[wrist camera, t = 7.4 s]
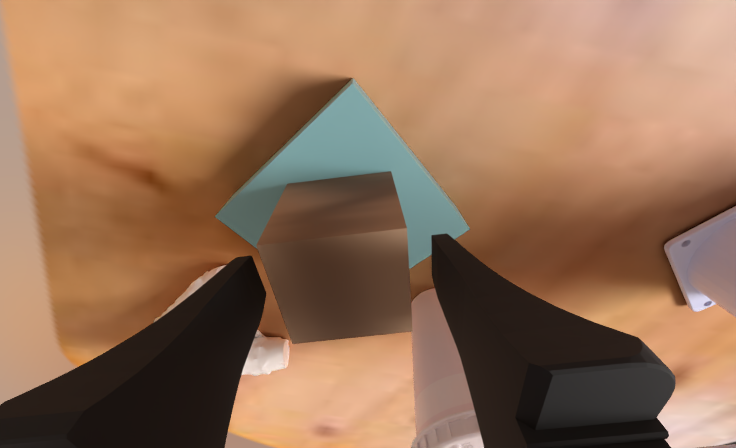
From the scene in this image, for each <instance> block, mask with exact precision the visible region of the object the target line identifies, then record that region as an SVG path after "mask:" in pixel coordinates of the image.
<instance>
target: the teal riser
mask: <svg viewBox="0 0 736 448" xmlns="http://www.w3.org/2000/svg"><path fill="white" fill-rule="evenodd" d="M389 171H391V173H392V176H393V180H394V183H395V187H396V191H397V194H398V198H399V201H400V205H401V209H402V212H403V216H404V219H405V223H406V226H407V238H408V256H409V269H410V268H412V267H413V266H415V265H416V264H418V263H419V262H421V261H423V260H424V259H426V258H427V257H429V256H430V255H432V240H431V235H437V234H446V233H447V234H448V235H450V236H451V237H452V238H453V239H456V238H457V237H459V236H460V235H462V234H464V233H465V232H467V231H468V230H470V228H469V226H468V225H467V223H466V221H465V220H464V218H463V217H462V215H461V213H460V212H459V210H458V209H457V207H456V206H455V205H454V203H453V202H452V201H451V200H450V198H449V197H448V196H447V195H446V193H445V192H444V191H443V190H442V188H441V187H440V186H439V185H438V183H437V182H436V181H435V180H434V178H433V177H432V176H431V175H430V173H429V172H428V171H427V170H426V168H425V167H424V166H423V165H422V163H421V162H420V161H419V160H418V158H417V157H416V156H415V155H414V153H413V152H412V151H411V150H410V148H409V147H408V146H407V145H406V143H405V142H404V141H403V140H402V138H401V137H400V136H399V135H398V133H397V132H396V131H395V130H394V128H393V127H392V126H391V125H390V123H389V122H388V121H387V120H386V118H385V117H384V116H383V115H382V113H381V112H380V111H379V110H378V108H377V107H376V106H375V105H374V103H373V102H372V101H371V100H370V98H369V97H368V96H367V95H366V93H365V92H364V91H363V90H362V88H361V87H360V86H359V85H358V83H357V82H356V81H355V80H354V78H352V79H351V80H350V81H349V82H348V83H347V84H346V85H345V86H344V87H343V88H342V89H341V90H340V91H339V92H338V93H337V94H336V95H335V96H334V97H333V98H332V99H331V100H330V101H329V102H328V103H327V104H326V105H325V106H324V107H323V108H322V109H320V110H319V111H318V112H317V113H316V114H315V115H314V116H313V117H312V118H311V119H310V120H309V121H308V122H307V123H306V124H305V125H304V126H303V127H302V128H301V129H300V130H299V131H298V132H297V133H296V134H295V135H294V136H293V137H292V138H291V139H290V140H289V141H288V142H287V143H286V144H285V145H284V146H283V147H282V148H280V149H279V150H278V151H277V152H276V153H275V154H274V155H273V156H272V157H271V158H270V159H269V160H268V161H267V162H266V163H265V164H264V165H263V166H262V167H261V168H260V169H259V170H258V171H257V172H256V173H255V174H254V175H253V176H252V177H251V178H250V179H249V180H248V181H247V182H246V183H245V184H244V185H243V186H242V187H241V188H239V189H238V190H237V191H236V192H235V193H234V194H233V195H232V197H231V198H230V199H229V200H228V201H227V203H226V204H225V205H224V206H223V207H222V209H221V210H220V211H219V212H218V213H217V215H216V216H215V217H216V218H217V219H218V220H220V221H221V222H222V223H224V224H225V225H226V226H228V227H229V228H230V229H232V230H233V231H234V232H236V233H237V234H238V235H239V236H241V237H242V238H243V239H245V240H246V241H247V242H249V243H250V244H251V245H253V246H254V247H255V248H257V246H256V245H257V243H258V241H259V239H260V237H261V235H262V233H263V231H264V229H265V227H266V225H267V223H268V221H269V219H270V217H271V215H272V213H273V211H274V209H275V207H276V205H277V203H278V201H279V199H280V197H281V195H282V193H283V191H284V189H285V187H286V185H287V184H289V183H297V182H305V181H314V180H322V179H330V178H339V177H347V176H355V175H364V174H372V173H380V172H389Z"/></svg>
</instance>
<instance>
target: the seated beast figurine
mask: <svg viewBox="0 0 736 448" xmlns="http://www.w3.org/2000/svg"><path fill="white" fill-rule="evenodd" d="M225 266H226V265H223V266H220V267H217V268H214V269H212V270H210V271H209V272H208V271H206V272H205V273H204V275H203V276H200V277H199V278H198V279H197V280H195V281H193V282H192V283H191V284H190V286H189V288H187V289H186V291H185V292H184V293H182V295H181V296H180V297H179V298H178V299H176V300H175V303H174V304H172V305H171V306H169V307H168V308H167V311H165V312H163V313H162V315H161V316H160V317H156V318H155V320H154V322H155V321H157V320H158V319H160V318H161V317H162V316H164V315H165V314H167V313H168V312H169V311H171V310H172V309H173V308H175V307H176V306H177V305H178V304H180V303H181V302H182V301H184V300H185V299H186V298H187V297H189V296H190V295H191V294H192V293H194V292H195V291H196V290H197V289H199V288H200V287H201V286H202V285H203V284H205V283H206V282H207V281H208V280H209V279H211V278H212V277H213V276H214V275H215V274H216V273H218V272H219V271H220V270H221V269H222V268H224V267H225ZM154 322H153V323H154ZM288 341H289V340H287V339H282V338H281V337H265V336H264V335H263V334H262V333H261V332H260V331H259V330H258V329H257V332H256V335H255V337H254V340H253V343H252V346H251V348H250V351H249V354H248V357H247V359H246V362H245V365H244V368H243V371H242V374H241V375H244V374H250V375H253V376H257V375H260V374H270V373H271V371H276V370H280V369H284V368H287V365H288V361H289V345H288Z"/></svg>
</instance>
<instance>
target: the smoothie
mask: <svg viewBox="0 0 736 448" xmlns="http://www.w3.org/2000/svg"><path fill="white" fill-rule="evenodd" d="M411 309H412V327H413V331H412V332H411V336H412V357H413V379H414V401H415V406H414V407H415V423H416V437H415V439H414V440H413V442H412V446H411V448H484V445H483V441H482V437H481V433H480V429H479V425H478V421H477V417H476V413H475V410H474V406H473V402H472V398H471V395H470V391H469V387H468V383H467V380H466V376H465V373H464V369H463V365H462V362H461V358H460V355H459V352H458V350H457V347H456V344H455V342H454V339H453V336H452V334H451V331H450V329H449V326H448V324H447V321H446V319H445V316H444V313H443V311H442V308H441V306H440V303H439V300H438V298H437V294H436V290H435V288H432V289H429V290H426V291H424V292H422V293H420V294H419V295H417V296H416V297H415V298H414V300H413V301H412V303H411Z"/></svg>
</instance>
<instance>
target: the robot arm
mask: <svg viewBox="0 0 736 448" xmlns="http://www.w3.org/2000/svg"><path fill="white" fill-rule="evenodd" d="M431 240H432V278H433V282H434V286H435V290H436V294H437V298H438V300H439V303H440V306H441V308H442V311H443V313H444V316H445V319H446V321H447V324H448V326H449V329H450V331H451V334H452V336H453V339H454V342H455V344H456V347H457V350H458V352H459V355H460V358H461V362H462V365H463V369H464V373H465V376H466V380H467V383H468V387H469V391H470V395H471V398H472V402H473V406H474V410H475V413H476V417H477V421H478V425H479V429H480V433H481V437H482V441H483V445H484V448H671V447H670V446H669V444H668V443H667V442H666V441H665V439H667V438H668V436H669V434H668V431H667V430H666V429H665V427H664V426H663V425H662V424H661V422H660V421H659V420H658V419H657V418H656V417H657V416H658V414H659V413H660V411H661V410H662V409H663V407H664V406H665V404H666V403H667V401H668V400H669V399H670V397H671V395H672V393H673V391H674V389H675V376H674V375H673V373H672V372H671V370H670V369H669V368H668V367H667V366H666V365H665V364H664V363H663V362H662V361H661V360H660V359H659V358H658V357H657V356H656V355H655V354H654V353H653V352H652V351H651V350H650V349H649V348H648V347H647V346H646V345H645V344H644V343H643V342H642V341H641V340H640V339H639V338H638V337H635V336H632V335H629V334H626V333H623V332H620V331H617V330H615V329H612V328H609V327H606V326H603V325H600V324H597V323H594V322H592V321H589V320H587V319H584V318H582V317H579V316H577V315H575V314H572V313H570V312H567V311H565V310H563V309H561V308H558V307H556V306H554V305H552V304H550V303H548V302H546V301H544V300H542V299H540V298H538V297H536V296H534V295H532V294H530V293H528V292H526V291H525V290H523V289H521V288H519V287H518V286H516V285H514V284H513V283H511V282H509V281H508V280H506V279H504V278H503V277H501V276H500V275H498V274H497V273H496V272H494V271H493V270H491V269H490V268H488V267H487V266H486V265H484V264H483V263H482V262H481V261H479V260H478V259H477V258H475V257H474V256H473V255H472V254H471V253H469V252H468V251H467V250H466V249H465V248H463V247H462V246H461V245H460V244H459V243H458V242H457V241H455V240H454V239H453V238H452V237H451V236H450V235H448V234H447V233H446V234H437V235H431ZM664 250H665V252H666V255H667V257H668V260H669V262H670V264H671V267H672V269H673V272H674V274H675V276H676V279H677V281H678V284H679V286H680V288H681V291H682V293H683V296H684V298H685V300H686V303H687V305H688V307H689V308H690V309H691V310H693V311H701V310H703V309H706V308H708V307H710V306H713V305H715V304H718V305H719V306H720V307H722V308H723V309H725V310H726V311H727V312H729V313H730V314H732V315H733V316H734V317H736V206H735V207H733V208H731V209H729V210H727V211H725V212H723V213H721V214H719V215H717V216H715V217H713V218H712V219H710V220H708V221H706V222H704V223H702V224H700V225H698V226H696V227H694V228H692V229H690V230H689V231H687V232H685V233H683V234H681V235H679V236H677V237H675V238H673V239H671V240H670V241H668V242H667V243H666V244H665V246H664ZM265 298H266V291H265V289H264V286H263V284H262V281H261V278H260V276H259V273H258V271H257V268H256V266H255V263H254V260H253V258H252V256H244V257H237V258H235V259H234V260H232V261H231V262H230V263H229V264H227V265H226V266H225V267H224V268H222V269H221V270H220V271H219V272H218V273H216V274H215V275H214V276H213V277H212V278H211V279H209V280H208V281H207V282H206V283H205V284H203V285H202V286H201V287H200V288H199V289H197V290H196V291H195V292H194V293H192V294H191V295H190V296H189V297H187V298H186V299H185V300H184V301H182V302H181V303H180V304H178V305H177V306H176V307H175V308H173V309H172V310H171V311H169V312H168V313H167V314H165V315H164V316H162V317H161V318H160V319H158V320H157V321H155V322H154V323H152V324H151V325H149V326H148V327H146V328H145V329H143V330H142V331H140V332H139V333H137V334H135V335H134V336H132V337H130V338H129V339H127V340H125V341H124V342H122V343H120V344H119V345H117V346H115V347H114V348H112V349H110V350H109V351H107V352H105V353H103V354H102V355H100V356H98V357H96V358H94V359H93V360H91V361H89V362H87V363H85V364H83V365H81V366H79V367H77V368H75V369H74V370H72V371H70V372H68V373H66V374H64V375H62V376H60V377H58V378H55V379H54V380H52V381H49V382H47V383H45V384H43V385H41V386H38V387H36V388H34V389H32V390H30V391H28V392H25V393H23V394H21V395H19V396H17V397H14V398H12V399H10V400H8V401H5V402H4V403H3V404H1V405H0V448H224V447H225V442H226V437H227V432H228V427H229V423H230V418H231V414H232V409H233V405H234V401H235V397H236V393H237V388H238V384H239V381H240V377H241V374H242V371H243V368H244V365H245V362H246V359H247V357H248V354H249V351H250V348H251V346H252V343H253V340H254V337H255V335H256V332H257V329H258V326H259V323H260V320H261V317H262V313H263V309H264V304H265ZM699 448H736V444H733V445H722V446H710V447H699Z"/></svg>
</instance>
